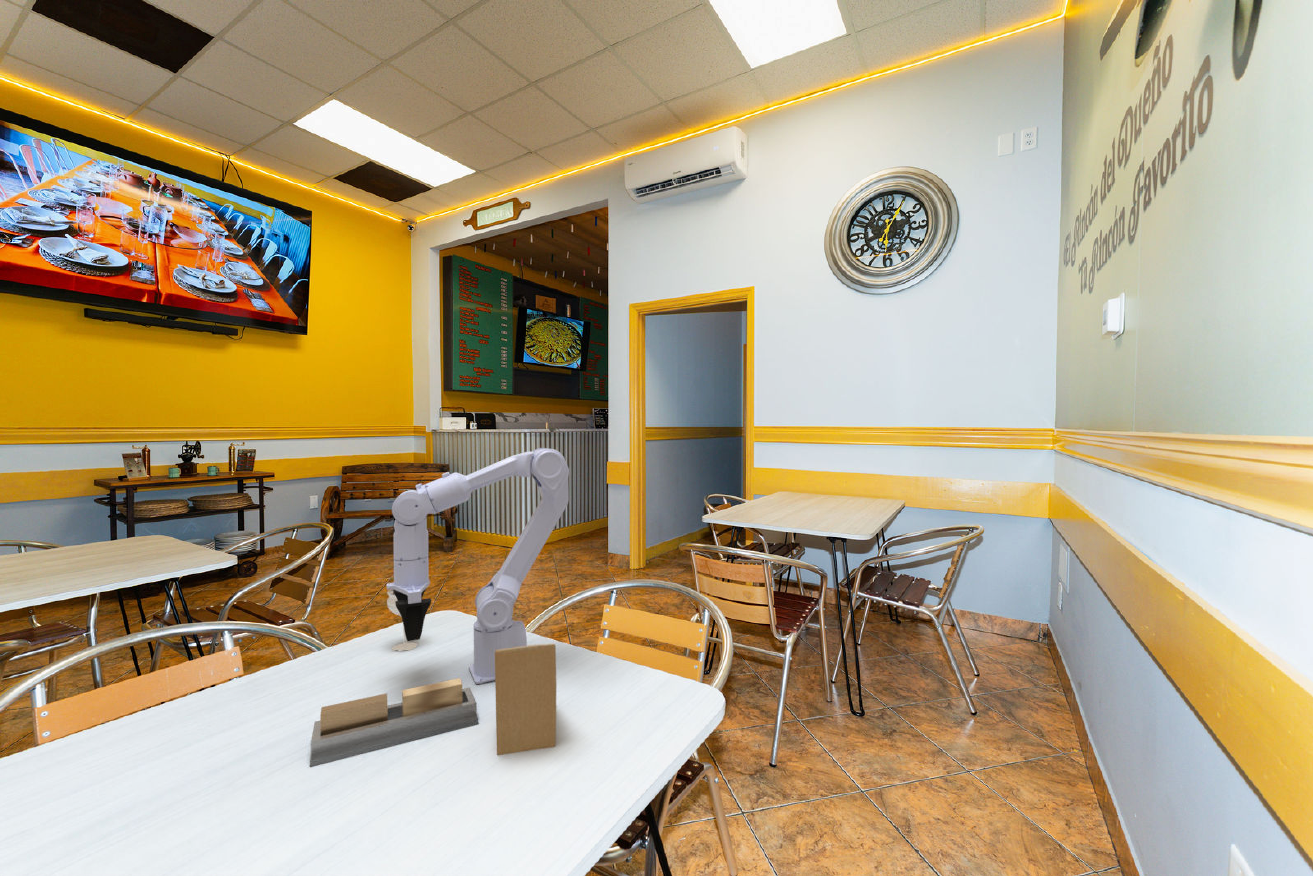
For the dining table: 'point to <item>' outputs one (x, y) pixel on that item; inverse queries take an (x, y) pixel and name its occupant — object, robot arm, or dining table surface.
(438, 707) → the tan rectangular block
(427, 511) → the robot arm
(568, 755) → the dining table surface
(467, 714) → the track
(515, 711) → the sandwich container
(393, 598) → the wineglass
